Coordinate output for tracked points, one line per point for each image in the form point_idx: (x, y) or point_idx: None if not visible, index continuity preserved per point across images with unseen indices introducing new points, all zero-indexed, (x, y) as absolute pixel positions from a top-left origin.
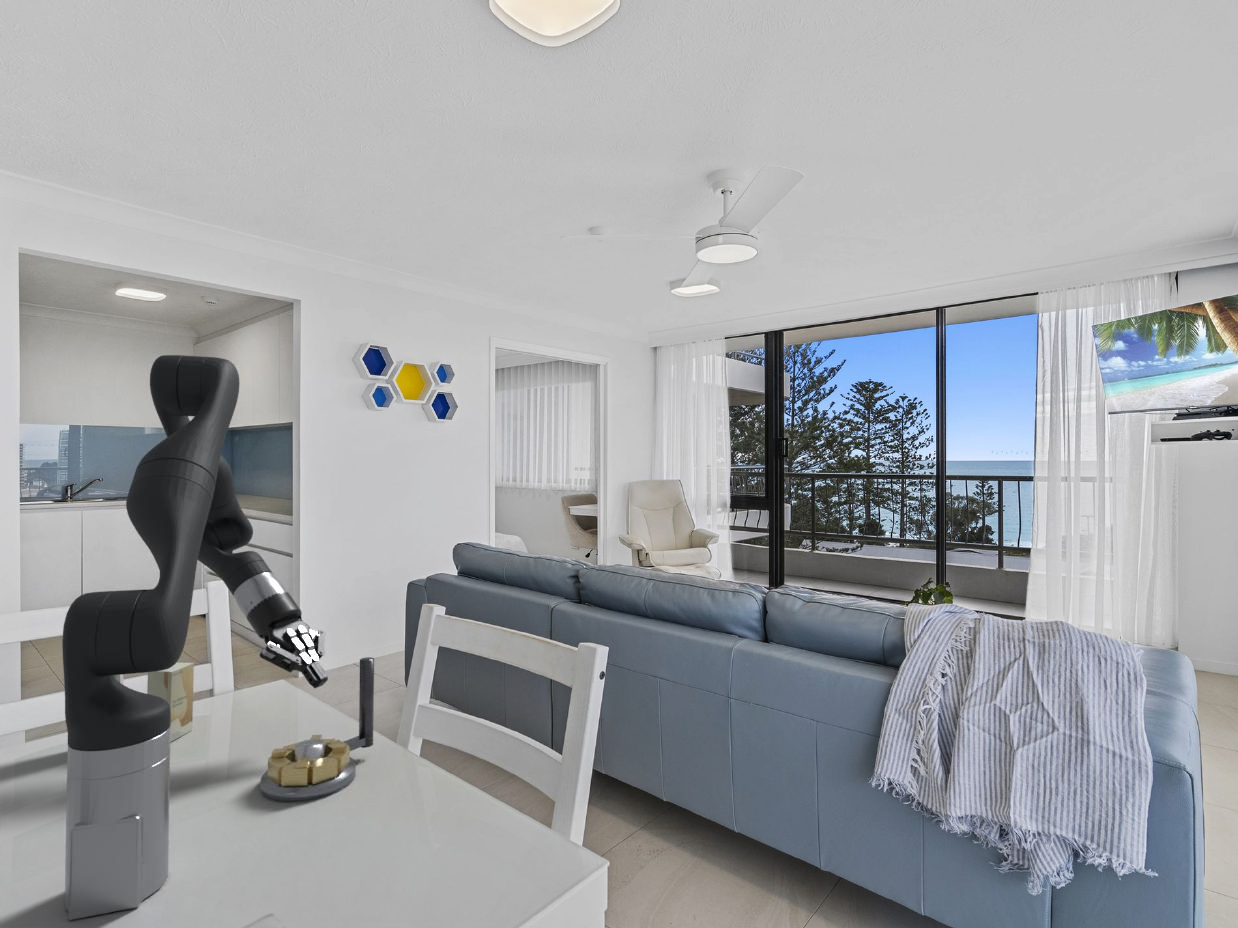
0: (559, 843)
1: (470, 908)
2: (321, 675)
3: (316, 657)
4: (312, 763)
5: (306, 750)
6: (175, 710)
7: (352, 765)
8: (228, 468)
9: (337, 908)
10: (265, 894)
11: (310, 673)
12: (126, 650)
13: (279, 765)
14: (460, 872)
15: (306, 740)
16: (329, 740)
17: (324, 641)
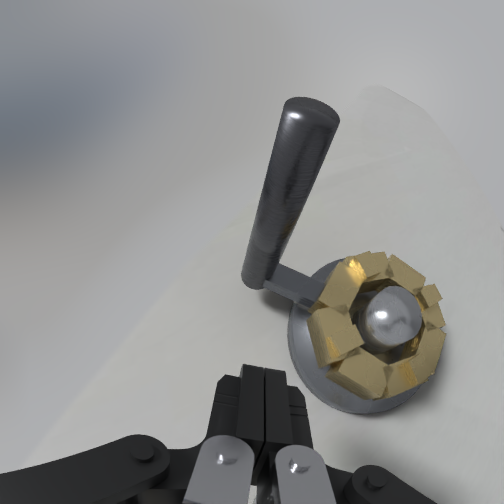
0: (363, 90)
1: (437, 130)
2: (269, 381)
3: (229, 446)
4: (416, 287)
5: (417, 303)
6: None
7: (331, 268)
8: None
9: (479, 193)
10: (497, 242)
11: (307, 421)
12: None
13: (439, 338)
14: (420, 134)
15: (386, 334)
16: (328, 316)
17: (21, 472)
